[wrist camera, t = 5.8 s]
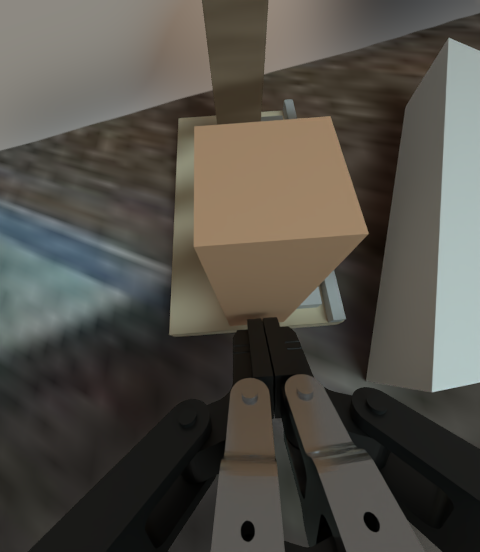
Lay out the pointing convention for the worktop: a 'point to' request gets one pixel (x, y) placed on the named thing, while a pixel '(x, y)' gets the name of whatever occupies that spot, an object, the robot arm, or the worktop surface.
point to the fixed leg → (237, 58)
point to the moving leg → (272, 214)
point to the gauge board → (190, 273)
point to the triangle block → (434, 236)
